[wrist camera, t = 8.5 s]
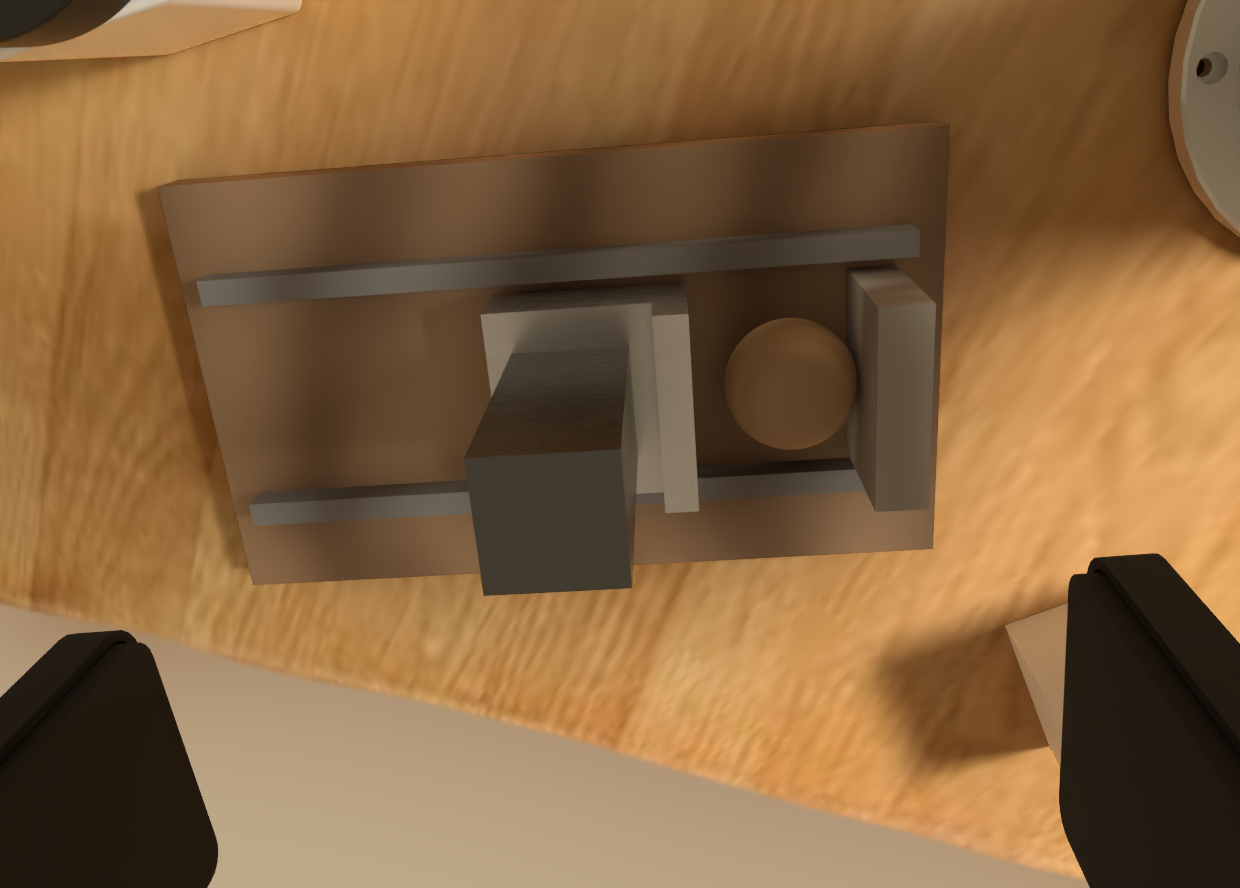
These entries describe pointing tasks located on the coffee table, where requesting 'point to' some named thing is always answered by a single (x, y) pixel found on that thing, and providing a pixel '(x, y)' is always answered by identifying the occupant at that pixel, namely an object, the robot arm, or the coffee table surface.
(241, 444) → the board
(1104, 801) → the robot arm
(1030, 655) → the white cube
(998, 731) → the coffee table surface
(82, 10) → the jar
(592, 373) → the handle
